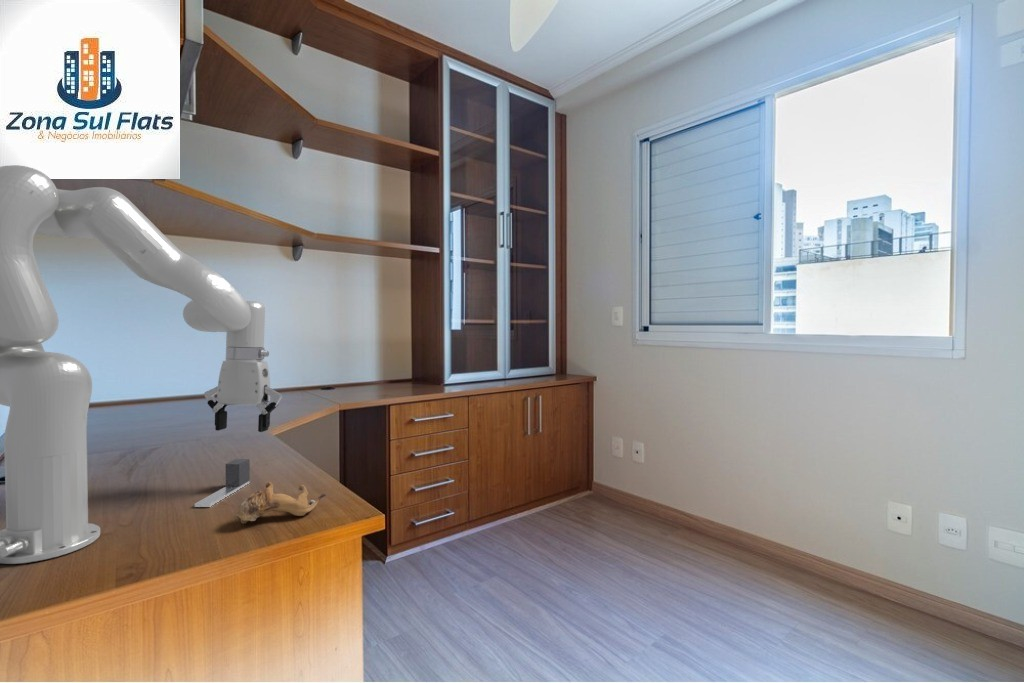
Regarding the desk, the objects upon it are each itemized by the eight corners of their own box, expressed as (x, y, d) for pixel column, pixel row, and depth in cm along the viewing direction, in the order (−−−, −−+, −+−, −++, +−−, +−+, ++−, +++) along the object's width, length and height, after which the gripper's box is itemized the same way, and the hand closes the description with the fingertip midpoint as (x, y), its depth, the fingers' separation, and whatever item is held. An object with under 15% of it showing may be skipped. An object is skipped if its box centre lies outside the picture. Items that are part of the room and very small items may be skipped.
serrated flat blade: (236, 484, 108) (236, 458, 108) (249, 485, 108) (249, 459, 108) (194, 508, 94) (194, 478, 94) (209, 508, 94) (209, 479, 94)
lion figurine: (245, 507, 93) (233, 530, 84) (246, 481, 92) (234, 502, 84) (325, 504, 97) (321, 527, 89) (327, 480, 97) (323, 500, 88)
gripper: (290, 356, 112) (287, 428, 112) (217, 353, 112) (214, 426, 112) (274, 357, 104) (271, 434, 104) (196, 354, 104) (193, 432, 104)
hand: (242, 430), depth 108 cm, fingers open, 9 cm apart
